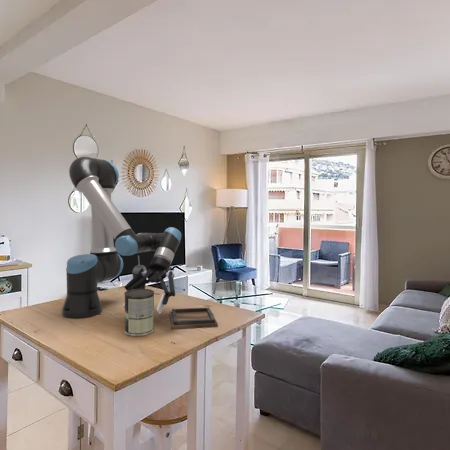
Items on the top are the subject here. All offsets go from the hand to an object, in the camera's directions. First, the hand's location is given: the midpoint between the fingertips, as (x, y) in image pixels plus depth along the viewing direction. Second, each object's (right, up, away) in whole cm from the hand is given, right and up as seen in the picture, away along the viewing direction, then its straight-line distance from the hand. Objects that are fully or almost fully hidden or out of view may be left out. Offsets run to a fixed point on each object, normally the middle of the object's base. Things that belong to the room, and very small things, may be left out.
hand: (141, 310), depth 120 cm
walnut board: (+17, -7, +13) cm, 23 cm away
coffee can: (-1, -8, +1) cm, 8 cm away
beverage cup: (-12, -5, +46) cm, 47 cm away
